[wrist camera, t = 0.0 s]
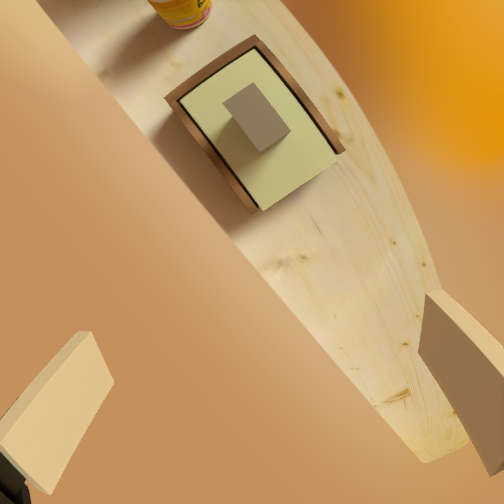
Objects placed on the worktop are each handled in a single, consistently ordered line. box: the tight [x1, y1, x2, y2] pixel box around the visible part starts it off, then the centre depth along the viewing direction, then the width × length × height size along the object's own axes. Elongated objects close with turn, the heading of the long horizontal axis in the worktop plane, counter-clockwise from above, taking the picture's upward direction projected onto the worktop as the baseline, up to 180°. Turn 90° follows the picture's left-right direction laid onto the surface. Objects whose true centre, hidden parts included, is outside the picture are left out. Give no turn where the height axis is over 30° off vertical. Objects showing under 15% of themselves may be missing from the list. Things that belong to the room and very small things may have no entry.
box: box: [164, 34, 345, 214], centre depth 31 cm, size 16×12×6 cm
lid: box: [180, 49, 339, 211], centre depth 26 cm, size 15×10×9 cm, turn 36°
